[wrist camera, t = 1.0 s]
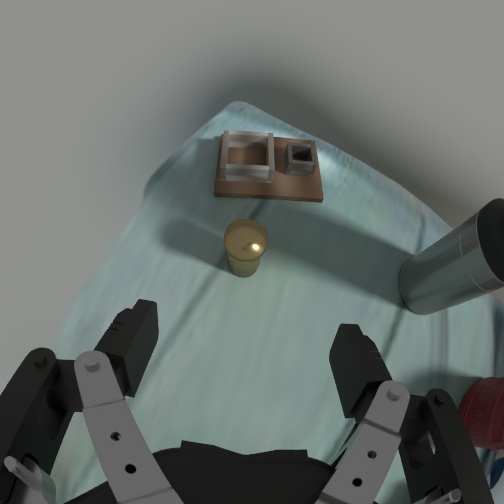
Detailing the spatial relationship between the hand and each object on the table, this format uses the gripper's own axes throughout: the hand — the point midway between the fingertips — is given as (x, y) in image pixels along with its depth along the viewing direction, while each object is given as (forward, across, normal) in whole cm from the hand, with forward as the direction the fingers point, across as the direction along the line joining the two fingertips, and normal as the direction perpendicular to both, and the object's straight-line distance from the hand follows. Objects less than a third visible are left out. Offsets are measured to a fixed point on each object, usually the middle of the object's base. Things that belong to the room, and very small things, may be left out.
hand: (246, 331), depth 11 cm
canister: (+8, -43, +24) cm, 50 cm away
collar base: (+35, -2, -4) cm, 35 cm away
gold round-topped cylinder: (+24, 0, +8) cm, 25 cm away
